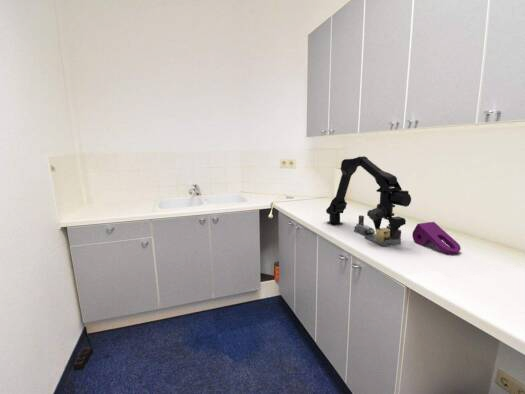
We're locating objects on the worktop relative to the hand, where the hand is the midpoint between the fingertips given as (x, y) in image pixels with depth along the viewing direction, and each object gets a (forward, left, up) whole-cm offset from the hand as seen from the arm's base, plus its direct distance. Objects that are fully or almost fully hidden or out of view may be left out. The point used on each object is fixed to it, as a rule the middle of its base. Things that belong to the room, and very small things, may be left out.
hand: (384, 234), depth 127 cm
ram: (-13, 0, -2) cm, 13 cm away
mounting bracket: (+14, +17, -4) cm, 22 cm away
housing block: (0, 0, -3) cm, 3 cm away
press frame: (-7, +1, -4) cm, 8 cm away
